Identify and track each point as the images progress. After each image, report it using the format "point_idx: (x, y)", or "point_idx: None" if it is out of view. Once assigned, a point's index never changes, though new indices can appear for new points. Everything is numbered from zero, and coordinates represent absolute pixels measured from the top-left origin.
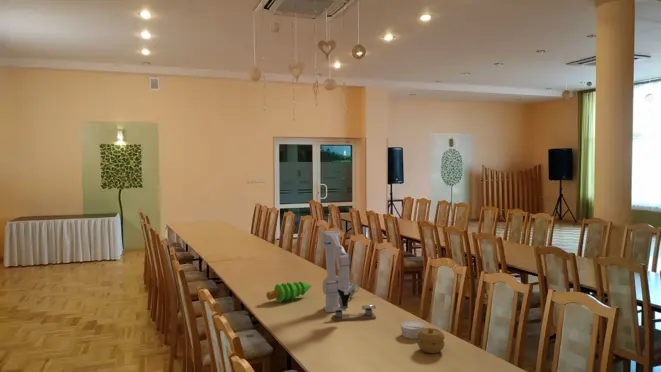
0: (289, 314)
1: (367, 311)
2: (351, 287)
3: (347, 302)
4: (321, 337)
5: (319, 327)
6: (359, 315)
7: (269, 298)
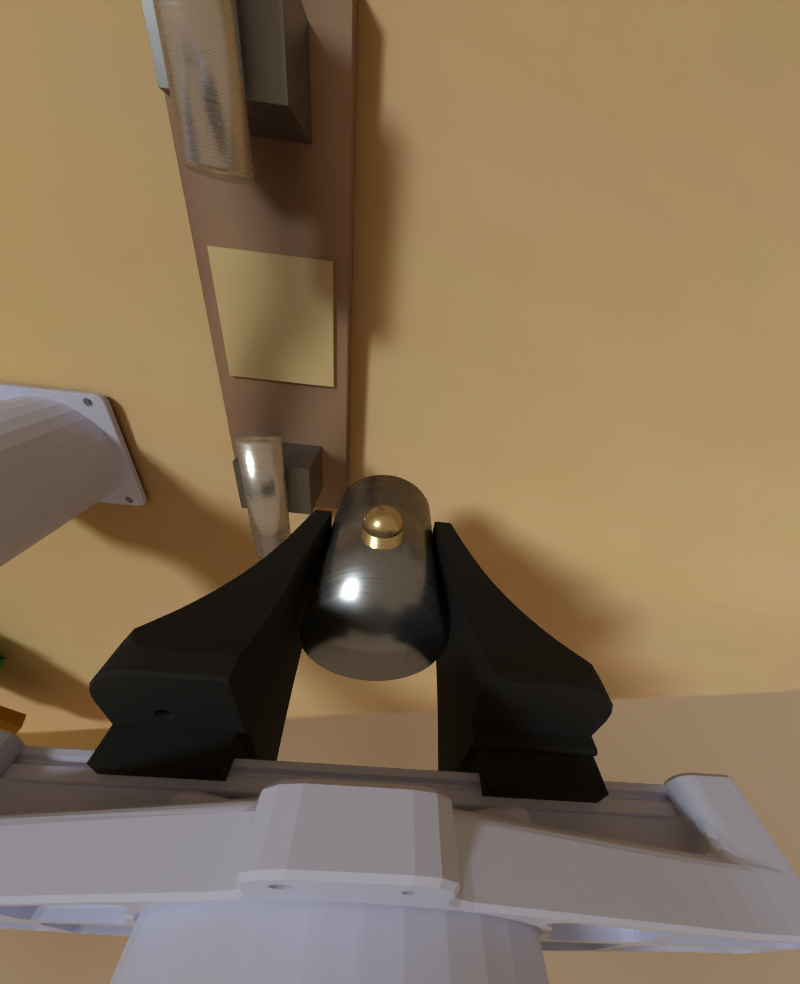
0: None
1: (294, 96)
2: (448, 852)
3: (468, 552)
4: (576, 608)
5: None
6: (279, 250)
7: (18, 723)
